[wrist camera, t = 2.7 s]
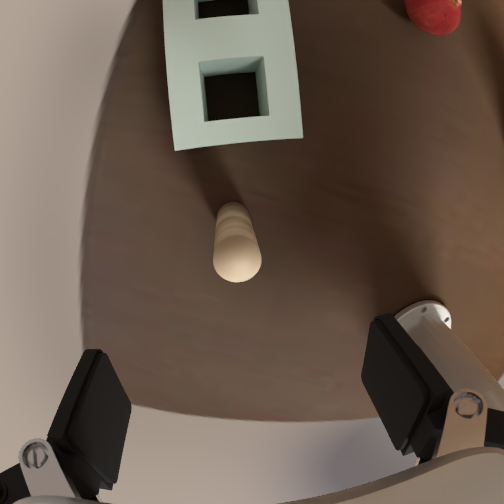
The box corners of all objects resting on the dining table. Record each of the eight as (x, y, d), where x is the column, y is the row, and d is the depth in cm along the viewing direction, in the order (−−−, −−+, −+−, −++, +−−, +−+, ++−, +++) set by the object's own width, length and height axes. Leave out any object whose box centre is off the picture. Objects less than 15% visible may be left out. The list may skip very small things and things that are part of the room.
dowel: (250, 231, 29) (263, 279, 20) (218, 234, 29) (216, 284, 20) (247, 200, 28) (259, 235, 19) (214, 203, 28) (210, 240, 19)
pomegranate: (381, 6, 21) (422, -19, 14) (409, -11, 20) (450, -34, 12) (416, 49, 23) (464, 35, 16) (442, 29, 22) (487, 15, 14)
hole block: (286, 136, 26) (303, 138, 20) (185, 147, 26) (174, 151, 20) (269, -17, 20) (280, -47, 14) (173, -8, 20) (162, -37, 14)
